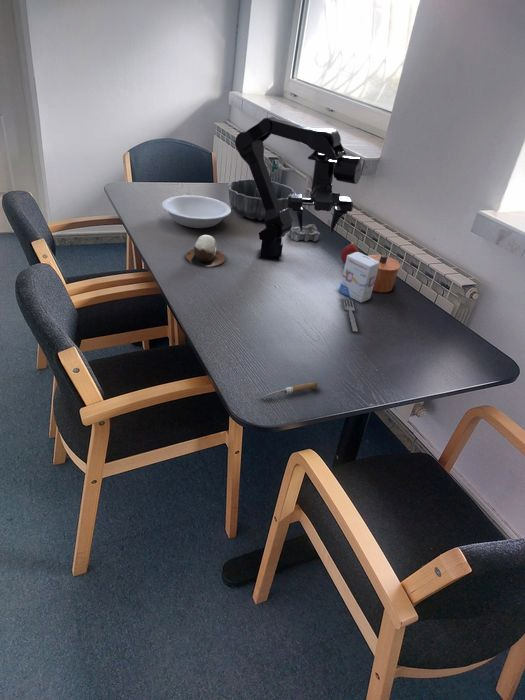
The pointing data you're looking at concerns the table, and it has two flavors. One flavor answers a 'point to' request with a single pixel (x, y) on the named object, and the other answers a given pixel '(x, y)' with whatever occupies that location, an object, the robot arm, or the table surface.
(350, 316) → the fork
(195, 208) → the soup bowl
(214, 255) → the brown and cream dessert
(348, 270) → the ink box
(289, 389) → the folding knife
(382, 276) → the pot
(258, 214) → the bundt pan
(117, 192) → the table surface
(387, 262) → the pot lid
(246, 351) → the table surface
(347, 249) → the onion
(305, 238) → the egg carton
